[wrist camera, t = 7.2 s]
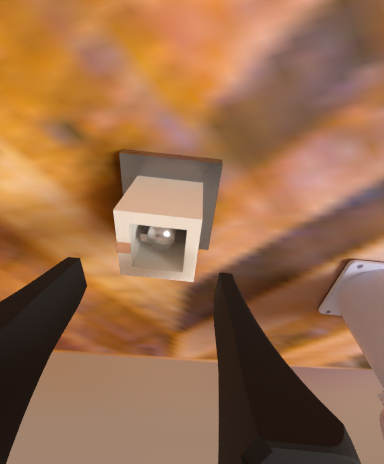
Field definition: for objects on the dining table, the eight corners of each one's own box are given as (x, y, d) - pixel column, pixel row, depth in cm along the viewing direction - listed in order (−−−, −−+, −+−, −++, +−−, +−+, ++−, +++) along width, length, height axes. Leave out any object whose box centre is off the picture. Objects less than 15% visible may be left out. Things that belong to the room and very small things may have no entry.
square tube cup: (203, 182, 17) (202, 222, 12) (196, 236, 20) (193, 285, 15) (137, 175, 17) (111, 212, 12) (139, 229, 20) (119, 277, 15)
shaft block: (221, 159, 17) (227, 188, 12) (207, 243, 21) (208, 286, 17) (123, 149, 17) (93, 174, 12) (130, 235, 21) (110, 277, 17)
